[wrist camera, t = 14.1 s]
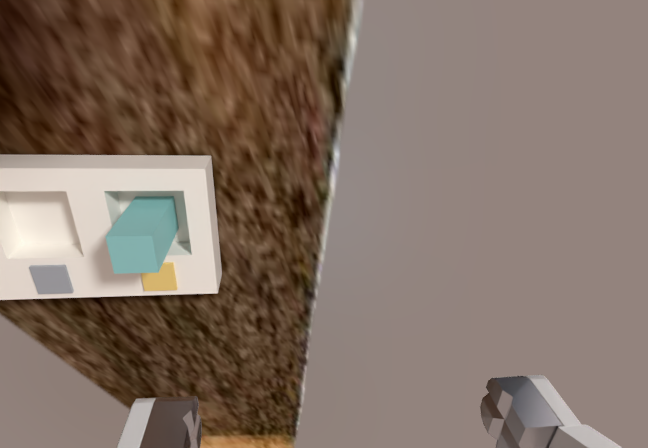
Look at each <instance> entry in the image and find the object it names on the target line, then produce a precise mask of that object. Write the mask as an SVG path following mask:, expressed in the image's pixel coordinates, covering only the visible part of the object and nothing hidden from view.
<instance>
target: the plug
mask: <svg viewBox="0 0 648 448" xmlns="http://www.w3.org/2000/svg"><path fill="white" fill-rule="evenodd" d="M178 229H179V228H178V221H177V214H176V207H175V200H174V196H136V197H135V198H134V199H133V201H132V202H131V203H130V205H129V206H128V207H127V209H126V210H125V211H124V212H123V214H122V215H121V216H120V218H119V219H118V220H117V222H116V223H115V224H114V226H113V227H112V228H111V230H110V231H109V232H108V233H107V235H106V236H105V237H106V242H107V246H108V250H109V254H110V258H111V262H112V266H113V271H114V274H122V273H159V271H160V269H161V266H162V264H163V262H164V260H165V257H166V255H167V253H168V251H169V249H170V246H171V244H172V242H173V240H174V238H175V235H176V233H177V231H178Z"/></svg>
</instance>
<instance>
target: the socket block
mask: <svg viewBox="0 0 648 448" xmlns="http://www.w3.org/2000/svg"><path fill="white" fill-rule="evenodd" d="M136 196H174V200H175V207H176V214H177V221H178V228H179V229H178V231H177V233H176V235H175V238H174V240H173V242H172V244H171V246H170V249H169V251H168V253H167V255H166V257H165V260H164V262H163V264H162V266H161V269H160V271H159V273H122V274H114V271H113V266H112V262H111V258H110V254H109V250H108V246H107V242H106V237H105V236H106V235H107V233H108V232H109V231H110V230H111V228H112V227H113V226H114V224H115V223H116V222H117V220H118V219H119V218H120V216H121V215H122V214H123V212H124V211H125V210H126V209H127V207H128V206H129V205H130V203H131V202H132V201H133V199H134V198H135V197H136ZM221 275H222V269H221V258H220V247H219V236H218V226H217V215H216V204H215V193H214V182H213V171H212V161H211V156H165V155H0V300H15V299H47V298H80V297H112V296H145V295H177V294H210V293H218V289H219V285H220V280H221Z"/></svg>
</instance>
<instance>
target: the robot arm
mask: <svg viewBox="0 0 648 448" xmlns="http://www.w3.org/2000/svg"><path fill="white" fill-rule="evenodd" d="M486 388H487V390H488V392H489V393H488V394H487V395H486V396H485V397H483V399H482V403H481V417H482V420H483V424H484V426H485V428H486V430H487V432H488V434H490V435H491V436H492V437H494V438H495V439H496V440H497V444H496V448H622V447H620V446H619V445H617V444H616V443H614V442H613V441H611V440H610V439H608V438H606V437H605V436H603V435H602V434H600V433H599V432H597V431H596V430H594V429H593V428H591V427H589V426H588V425H581V423H580V422H579V421H578V419H577V418H576V417H575V415H574V414H573V413H572V411H571V410H570V409H569V407H568V406H567V405H566V403H565V402H564V401H563V399H562V398H561V397H560V395H559V394H558V393H557V391H556V390H555V389H554V387H553V386H552V385H551V383H550V382H549V381H548V379H547V378H546V377H544V376H543V375H534V376H513V377H501V378H491V379H490V380H489V381H488V383H487V386H486ZM198 406H199V405H198V400H197V397H196V396H192V397H162V398H141V399H136V400H135V402H134V403H133V405H132V407H131V410H130V413H129V415H128V418H127V421H126V423H125V426H124V429H123V431H122V434H121V437H120V440H119V442H118V445H117V448H200V444H201V432H202V431H201V418H200V416H199V415H198V414H197V411H198Z"/></svg>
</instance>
